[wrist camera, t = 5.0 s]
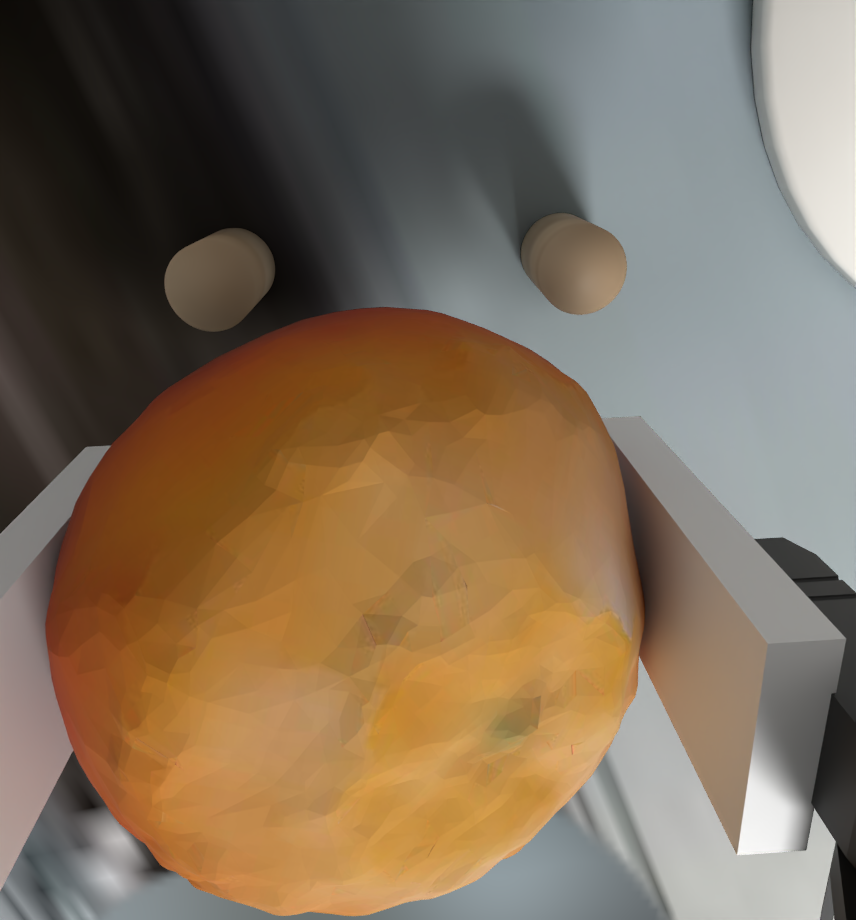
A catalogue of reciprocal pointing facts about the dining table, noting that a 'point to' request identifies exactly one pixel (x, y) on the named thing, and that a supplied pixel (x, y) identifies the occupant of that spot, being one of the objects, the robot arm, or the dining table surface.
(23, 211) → the dining table surface
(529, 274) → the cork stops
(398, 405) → the fruit
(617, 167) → the dining table surface
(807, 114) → the saucer
